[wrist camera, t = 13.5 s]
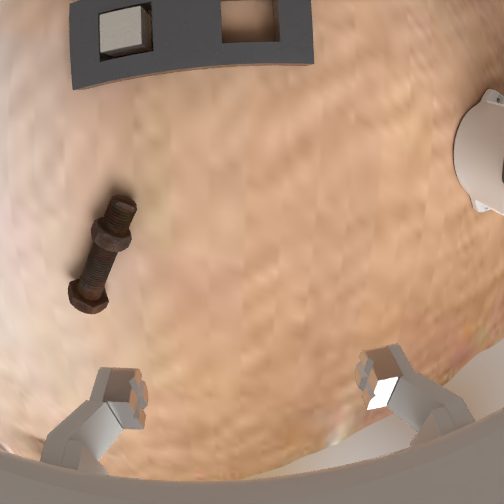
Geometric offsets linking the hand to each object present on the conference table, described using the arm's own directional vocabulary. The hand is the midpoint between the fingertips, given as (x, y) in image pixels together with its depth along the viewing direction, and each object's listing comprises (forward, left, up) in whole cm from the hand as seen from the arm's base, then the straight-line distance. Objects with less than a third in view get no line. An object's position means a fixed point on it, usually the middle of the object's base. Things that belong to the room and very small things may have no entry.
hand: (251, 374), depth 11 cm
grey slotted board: (+3, -17, -27) cm, 32 cm away
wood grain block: (+9, -17, -27) cm, 33 cm away
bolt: (+15, +7, -28) cm, 32 cm away
